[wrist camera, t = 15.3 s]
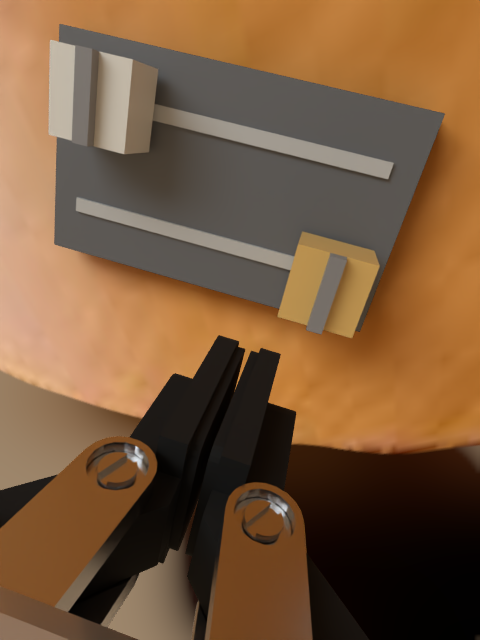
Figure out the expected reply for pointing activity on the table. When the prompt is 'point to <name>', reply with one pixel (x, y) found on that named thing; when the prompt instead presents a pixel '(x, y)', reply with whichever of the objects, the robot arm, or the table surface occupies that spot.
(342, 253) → the amber fader
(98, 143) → the white fader
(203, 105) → the mixer console
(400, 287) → the table surface
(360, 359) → the table surface
